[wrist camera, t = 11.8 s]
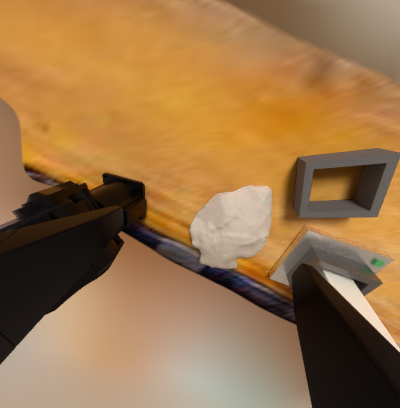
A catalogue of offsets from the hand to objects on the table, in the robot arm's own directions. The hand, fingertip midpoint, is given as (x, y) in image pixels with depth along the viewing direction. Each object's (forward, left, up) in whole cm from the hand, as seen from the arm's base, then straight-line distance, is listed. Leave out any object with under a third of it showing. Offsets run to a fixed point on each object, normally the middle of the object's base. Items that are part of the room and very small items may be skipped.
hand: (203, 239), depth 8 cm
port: (+16, -10, -13) cm, 23 cm away
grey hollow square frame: (+11, +1, -13) cm, 17 cm away
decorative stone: (+3, -8, -14) cm, 16 cm away
